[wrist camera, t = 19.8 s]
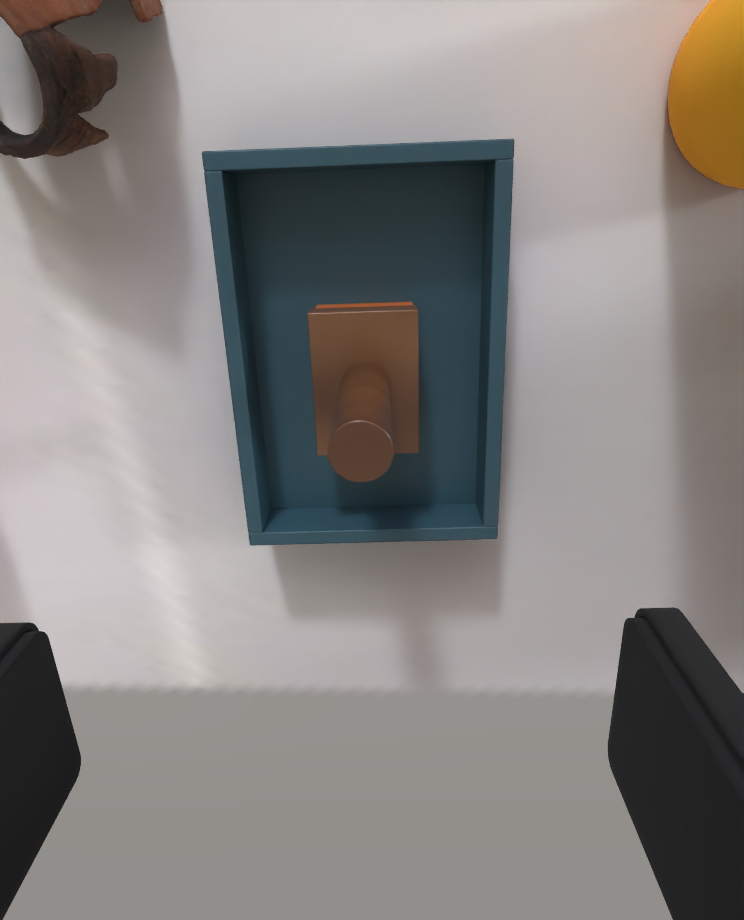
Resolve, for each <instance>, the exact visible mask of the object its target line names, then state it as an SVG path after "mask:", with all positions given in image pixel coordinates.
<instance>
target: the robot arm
mask: <svg viewBox="0 0 744 920" xmlns="http://www.w3.org/2000/svg"><path fill="white" fill-rule="evenodd" d="M608 757H609V762H610V767H611V770H612V773H613V775H614V777H615V780H616V782H617V785H618V787H619V790H620V792H621V794H622V797H623V799H624V802H625V804H626V807H627V809H628V811H629V814H630V816H631V819H632V821H633V824H634V826H635V828H636V831H637V833H638V836H639V838H640V840H641V843H642V845H643V848H644V850H645V853H646V855H647V857H648V860H649V862H650V865H651V867H652V869H653V872H654V875H655V877H656V879H657V882H658V884H659V887H660V889H661V891H662V894H663V896H664V899H665V901H666V904H667V906H668V909H669V911H670V913H671V916H672V918H673V920H744V693H742V692H741V691H740V689H739V688H738V687H737V685H736V684H735V683H734V681H733V680H732V679H731V677H730V676H729V675H728V673H727V672H726V671H725V669H724V668H723V667H722V665H721V664H720V663H719V661H718V660H717V659H716V657H715V656H714V655H713V653H712V652H711V651H710V649H709V648H708V647H707V645H706V644H705V643H704V641H703V640H702V639H701V637H700V636H699V635H698V633H697V632H696V630H695V629H694V628H693V626H692V625H691V624H690V622H689V621H688V620H687V618H686V617H685V616H684V614H683V613H682V612H681V611H680V610H679V609H677V608H641V609H639V610H638V611H637V612H636V614H635V618H628V619H626V621H625V623H624V629H623V636H622V644H621V651H620V658H619V666H618V673H617V681H616V688H615V695H614V703H613V710H612V718H611V726H610V733H609V740H608ZM80 766H81V756H80V751H79V747H78V744H77V740H76V737H75V733H74V729H73V725H72V722H71V718H70V714H69V711H68V707H67V704H66V700H65V696H64V693H63V689H62V685H61V682H60V678H59V674H58V671H57V667H56V663H55V660H54V656H53V652H52V649H51V645H50V641H49V638H48V636H47V634H46V633H45V632H42V631H39V630H38V628H37V627H36V625H35V624H33V623H0V920H3V918H4V916H5V914H6V912H7V910H8V908H9V906H10V905H11V903H12V901H13V899H14V897H15V895H16V893H17V891H18V889H19V888H20V886H21V884H22V882H23V880H24V878H25V876H26V874H27V872H28V871H29V869H30V867H31V865H32V863H33V861H34V859H35V857H36V855H37V854H38V852H39V850H40V848H41V846H42V844H43V842H44V840H45V839H46V837H47V835H48V833H49V831H50V829H51V827H52V825H53V823H54V822H55V819H56V818H57V816H58V813H59V812H60V810H61V808H62V806H63V805H64V802H65V801H66V799H67V797H68V795H69V793H70V791H71V789H72V788H73V786H74V784H75V782H76V780H77V777H78V775H79V771H80Z"/></svg>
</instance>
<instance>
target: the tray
mask: <svg viewBox="0 0 744 920" xmlns="http://www.w3.org/2000/svg"><path fill="white" fill-rule="evenodd" d="M202 158H203V166H204V171H205V172H204V175H205V183H206V191H207V200H208V208H209V216H210V224H211V232H212V240H213V249H214V257H215V265H216V273H217V281H218V289H219V298H220V306H221V314H222V322H223V330H224V338H225V347H226V355H227V363H228V371H229V379H230V387H231V396H232V404H233V412H234V420H235V428H236V436H237V445H238V453H239V461H240V469H241V477H242V485H243V494H244V502H245V510H246V518H247V526H248V532H249V542H250V545H285V544H324V543H362V542H401V541H440V540H478V539H497V532H498V527H497V526H498V511H499V488H500V464H501V441H502V417H503V394H504V371H505V347H506V324H507V300H508V277H509V254H510V230H511V207H512V184H513V158H514V139H496V140H472V141H448V142H423V143H399V144H375V145H350V146H326V147H301V148H277V149H253V150H228V151H204V152H202ZM386 302H413V305H416V306H417V308H418V331H419V453H399V454H394V457H393V461H392V463H391V465H390V467H389V468H388V470H387V471H386V472H385V473H384V474H383V475H382V476H380V477H379V478H377V479H375V480H372V481H369V482H353V481H349V480H347V479H344V478H343V477H341V476H340V475H338V474H337V473H336V472H335V471H334V469H333V468H332V467H331V465H330V463H329V461H328V457H327V455H326V456H318V455H317V441H316V427H315V413H314V399H313V385H312V371H311V357H310V343H309V328H308V312H309V311H310V309H313V308H315V307H316V306H317V305H325V304H356V303H386Z"/></svg>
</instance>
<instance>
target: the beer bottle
mask: <svg viewBox="0 0 744 920" xmlns="http://www.w3.org/2000/svg"><path fill="white" fill-rule="evenodd" d="M668 111H669V122H670V125H671V129H672V132H673V136H674V139H675V141H676V143H677V145H678V147H679V149H680V151H681V153H682V154H683V156H684V157H685V158H686V159H687V160H688V162H689V163H690V164H691V165H692V166H693V167H694V168H695V169H696V170H698V171H699V172H700V173H701V174H703V175H704V176H705V177H707V178H710V179H712V180H714V181H716V182H718V183H720V184H723V185H726V186H731V187H735V188H740V189H744V0H711V1H710V2H709V3H708V5H707V6H706V7H705V8H704V10H703V11H702V12H701V13H700V15H699V16H698V17H697V18H696V20H695V21H694V22H693V24H692V26H691V27H690V29H689V31H688V33H687V34H686V36H685V38H684V39H683V41H682V43H681V46H680V48H679V51H678V53H677V56H676V58H675V61H674V64H673V68H672V72H671V77H670V81H669V91H668Z"/></svg>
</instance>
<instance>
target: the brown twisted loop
mask: <svg viewBox="0 0 744 920" xmlns="http://www.w3.org/2000/svg"><path fill="white" fill-rule="evenodd" d="M129 2H130V4H131V6H132V8H133V11H134V13H135V16H136V18H137V19H138V21H140V22H148V21H150V20H152V19H153V17H155V16H158V15H161V14H162V4H161V2H160V0H129ZM100 5H101V0H0V16H1V17H2V18H3V19H4V20H5V22H6V23H7V24H8V25H9V26H10V28H11V29H12V30H13V32H14V33H15V34H16V35H17V36H18V37H19V38H20V39H21V41H22V43H23V46H24V48H25V50H26V52H27V54H28V56H29V58H30V60H31V62H32V64H33V66H34V68H35V70H36V73H37V76H38V79H39V83H40V87H41V93H42V98H43V121H42V123H41V124H40V126H39V128H38V130H37V131H35V133H33V134H30V135H21V134H18V133H15V132H13V131H11V130H10V129H9V128H7V127H6V126H5V125H4V124H3V123H2V122H1V121H0V153H1V154H4V155H11V156H13V157H18V158H23V159H26V158H31V157H32V158H33V157H38V156H41V155H46V154H47V155H52V156H64V155H67V154H69V153H72V152H74V151H76V150H79V149H82V148H85V147H88V146H90V145H95V144H97V143H99V142H101V141H103V140H105V139H107V138H108V137H109V135H108V133H107V132H106V131H104V130H101V129H98V128H96V127H94V126H92V125H91V124H90V123H89V122H87V121H86V120H85V119H84V118H82V117H80V116H79V115H78V113H82V112H86V111H90V110H92V109H93V108H94V107H95V106H97V105H98V104H99V103H100V101H101V100H102V98H103V96H104V94H105V93H106V92H107V91H108V90H110V89H112V88H113V87H114V86H115V85H116V82H117V61H116V58H115V57H114V56H113V55H112V54H98V55H94V54H93V53H92V52H91V51H89V50H87V49H86V48H84V47H82V46H80V45H78V44H76V43H74V42H72V41H70V40H69V39H67V38H66V37H65V36H64V35H62V34H61V33H59V32H58V31H56V30H55V29H54V26H56V25H58V24H60V23H63V22H66V21H68V20H70V19H73V18H77V17H80V16H90V15H93V14H95V13H96V12H97V9H98V8H99V7H100Z"/></svg>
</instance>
